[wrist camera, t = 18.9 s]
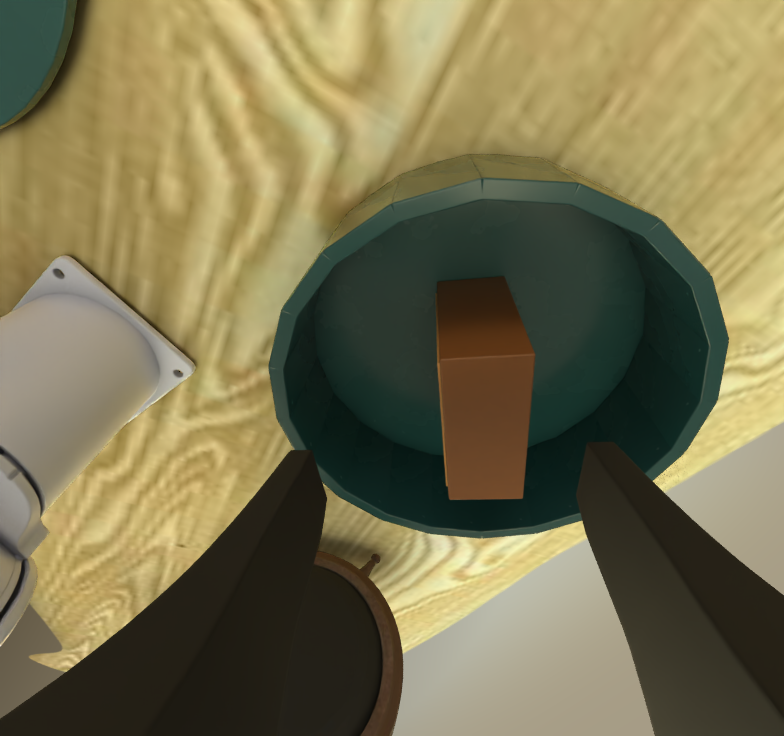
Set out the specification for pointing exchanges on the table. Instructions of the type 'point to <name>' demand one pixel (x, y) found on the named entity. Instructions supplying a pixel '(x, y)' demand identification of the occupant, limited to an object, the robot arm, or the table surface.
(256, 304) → the table surface
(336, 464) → the pot
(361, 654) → the alarm clock
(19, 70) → the lid
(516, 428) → the tall brown block
